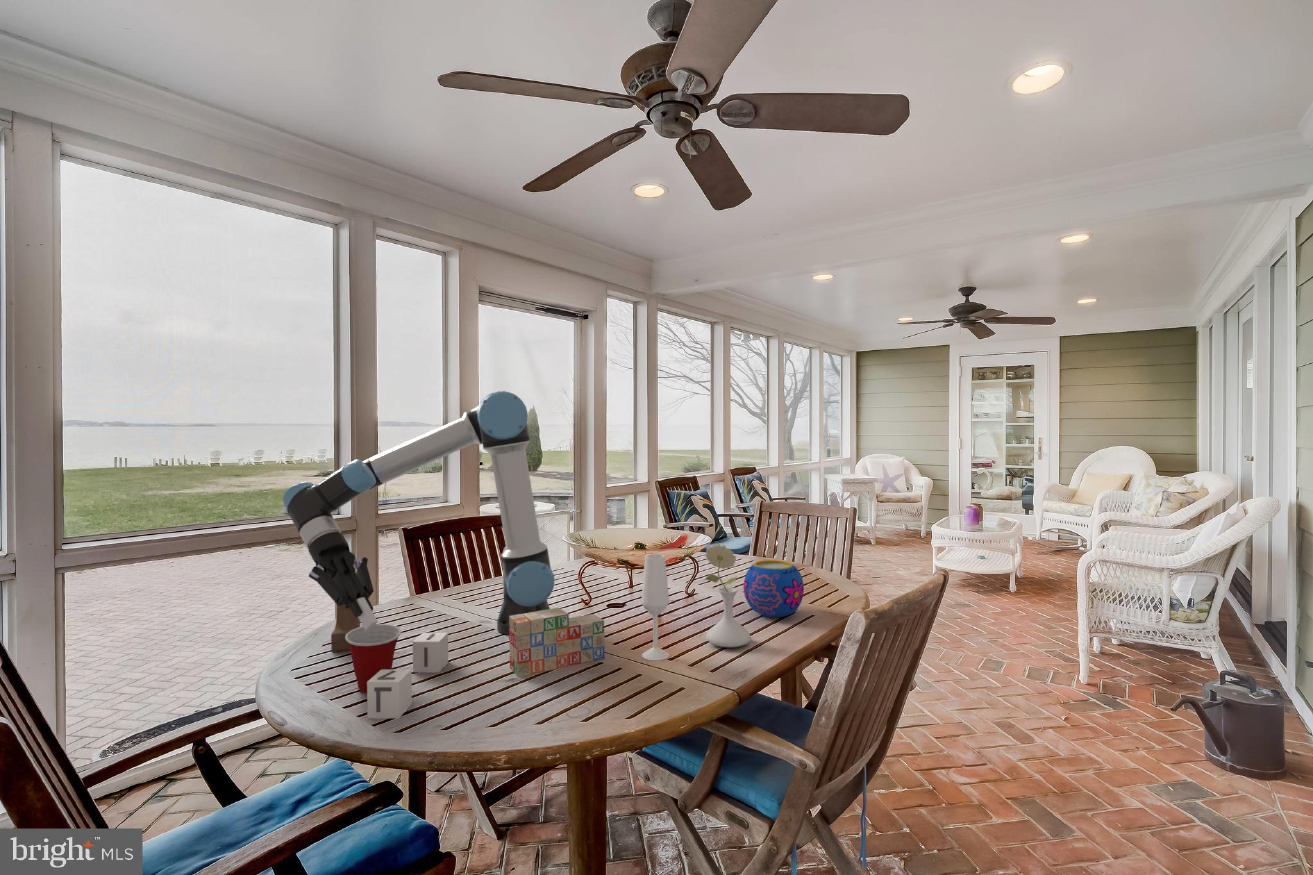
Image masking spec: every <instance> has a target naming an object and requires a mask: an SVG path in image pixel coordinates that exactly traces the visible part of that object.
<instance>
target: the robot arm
mask: <svg viewBox="0 0 1313 875" xmlns="http://www.w3.org/2000/svg"><path fill="white" fill-rule="evenodd" d="M528 416H529V414H528V410H527V406H526V404H525V403H524V401H523V400H522V398H520V397H519V396H518V395H516V394H515V393H512V392H510V391H505V390H503V391H495V392H492V393H489V394H488V395H486V396H484V398H483V399H481V401H480V403H479V404H478V405H476V406H475V407H473V408H471V409H469V410H467V411H464V412H463V415H462V417H460V418H458V419H455V420H453V421H451V422H449V423H446V424H444V425H442V426H440V427H438V428H434V429H432V430H429V431H428V432H426V433H423V434H421V435H420V436H417V437H415V438H413V439H410V440H407V441H405V442H403V443H401V444H399V445H396V446H394V447H392V448H390V449H387V450H385V451H383V452H380V453H379V454H375V455H373V456H372V457H369V458H367V459H364V460H361V459H358V458H357V459H354V460H352V461H350V462H348V463H346V464H344V465H342V467H340V468H339V469H337V470H336V471H334V472H333V473H331V474H330V475H329V476H327V477H325V478H324V479H322V480H321V481H319V482H317V483H316V484H315V483H312V482H309V481H302V482H300V483H297V484H293V485H291V486H290V487H288V488H286V490H285V492H284V493H283V495H282V502H283V505H284V507H285V509H286V513H287V515H288V516H289V517H290V519H291V521H292V523H293V525H294V526H295V528H296V530H297V532H298V534H299V535H300V538H301V539H302V541H303V543H304V545H305V547H306V548H307V551H308V553H309V554H310V557H311V559H312V560H313V562H314V564H315V566H312V569H311V570H310V572H309V573H308V577H309V578H310V579H312V580H313V581H315V582H317V584H318V585H319V586H320V587H321V588H322V589H323V591H324V592H325V593H326V594H328V596H329V597H330V599H331V600H332V601H333V603H335V604H336V606H337V605H338V606H342V605H346V606H345V608H347V609H348V608H350V609H351V611H352V613H353V615H354V616H355V617H358V618H359V620H360V624H361V625H362V626H363V627H364V629H365V631H367V630H371V629H373V627H374V626H375V625H376V624H377V623H378V622H379V621H378V620H377V618H376V616H375V614H374V612H373V611H374V607H373V604H372V603H371V601H370V597H371V596H372V594H373V593H374V586H373V583H372V579H371V576H370V572H369V568H368V562H369V559H368V558H367V557H365V556H364V557H362V558H358V557H356V555H355V553H352V551H351V550H350V546H349V543H348V542H347V540H346V538H345V536H344V535H343V533H342V530H341V529H340V527H339V525H338V523H337V522H336V520H335V518H334V517H333V515H332V513H334V512H335V511H337V510H338V509H340V508H341V507H343V506H345V505H346V504H348V503H349V502H351V501H352V500H354V499H355V498H357V497H359V496H361V495H363V494H365V493H367V492H369V491H371V490H374V489H375V488H378V487H380V486H382V485H384V484H386V483H388V482H391V481H393V480H395V479H397V478H400V477H403V476H404V475H407V474H408V473H411V472H413V471H415V470H417V469H420V468H422V467H425V466H427V465H429V464H431V463H433V462H435V461H438V460H440V459H442V458H445V457H446V456H448V455H451V454H453V453H455V452H458V451H461V450H462V449H464V448H467V447H468V446H472V445H473V444H477V445H482V449H483V450H485V451H486V452H487V453H488V454H489V455H490V458H491V459H490V460H491V466H492V470H493V477H494V483H495V488H496V489H495V490H496V495H497V499H498V505H499V511H500V512H499V513H500V517H501V518H500V519H501V524H502V530H503V536H504V542H505V543H504V544H505V547H503V551H502V553H501V557H500V558H501V560H502V561H501V562H502V567H503V568H502V571H503V572H502V573H503V574H502V575H503V576H502V578H503V582H502V583H503V593H502V594H503V601H502V605H501V608H500V611H499V614H498V617H497V621H496V630H497V632H499V633H501V634H504V635H506V636H509V629H510V627H509V616H512V615H518V614H525V613H530V612H536V611H541V610H548V609H551V608H550V605H549V602H548V599H549V597H550V596H551V595H552V593H553V591H554V587H555V574H554V573H553V570H552V568H551V567H552V566H551V561H550V556H549V550H548V545H547V544H545V543H544V542H542V541H541V538H540V532H539V525H538V520H537V514H536V508H535V501H534V495H533V490H532V484H531V477H530V470H529V464H528V458H527V453H526V448H527V446H528V445H529V444H530V442H531V440H530V439H531V438H530V434H529V433H530V432H529V427H528V423H527V422H528ZM355 571H357V574H358V576H357V575H356V573H355Z"/></svg>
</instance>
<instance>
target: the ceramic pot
mask: <svg viewBox="0 0 1313 875" xmlns="http://www.w3.org/2000/svg"><path fill="white" fill-rule="evenodd" d="M742 589H743V594H744V598H745V600H746V602H747V604H748V605H749V607H750V608H751V609H752V610H753V611H754V612H756V613H757V614H760V615H762V616H764V617H768V618H781V617H782V618H783V617H787V616H789V615H791V614H793V613H794V612H797V610H798V609H799V607H800V605H801V604H802V601H803V598H804V592H805V584H804V579H803V576H802V573H800V571H799V569H798V567H796V566H795V565H794V564H793V563H791V562H789V561H783V560H777V559H775V560H772V559H771V560H760V561H756V562H754V563H753V564H751V565H750V566H749V567H748V569H747V571H746V573H745V576H744V581H743V587H742Z"/></svg>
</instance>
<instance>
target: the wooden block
mask: <svg viewBox="0 0 1313 875" xmlns="http://www.w3.org/2000/svg"><path fill="white" fill-rule="evenodd" d="M355 573H356V575H357V576H358V574H357V570H355ZM345 606H346V605H342V606H338V605H337V604H336V619H335V620H336V622H335V625H334V629H333V631H332V633H331V636H330V640H331V641H330V642H331V643H330V645H331V648H330V650H331V652H342V651H343V652H345V651H350V648H349V645H348V642H347V641H346V640H345V637H346V634H347V633H348V632H350V631H351V630H353V629H356V628H358V627H361V622H360V620H359V618H358V617H355V616H354V615H353V613H352V611H351V609H350V608H348V609H347V608H345Z"/></svg>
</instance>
